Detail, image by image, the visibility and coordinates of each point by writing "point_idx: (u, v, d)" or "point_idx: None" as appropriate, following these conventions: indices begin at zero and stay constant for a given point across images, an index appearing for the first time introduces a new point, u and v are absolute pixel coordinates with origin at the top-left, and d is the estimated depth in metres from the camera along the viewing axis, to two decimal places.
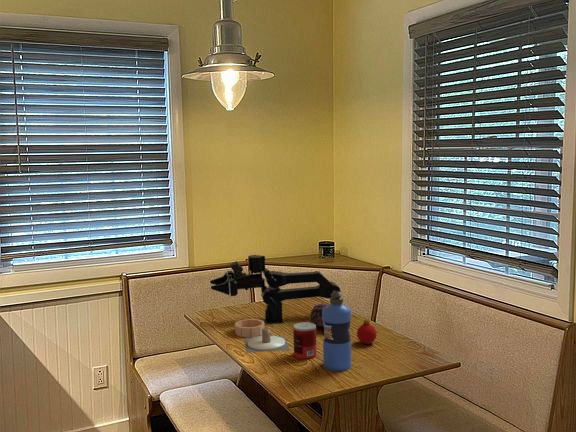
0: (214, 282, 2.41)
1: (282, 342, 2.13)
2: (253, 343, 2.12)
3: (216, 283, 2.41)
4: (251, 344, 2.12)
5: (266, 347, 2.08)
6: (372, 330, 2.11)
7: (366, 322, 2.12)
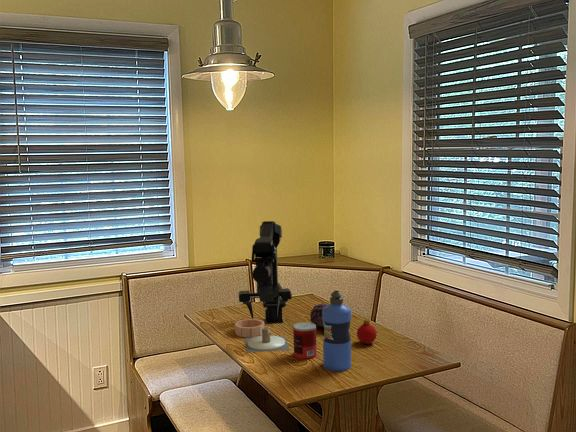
0: None
1: (282, 342, 2.13)
2: (253, 343, 2.12)
3: None
4: (251, 344, 2.11)
5: (266, 347, 2.08)
6: (372, 330, 2.11)
7: (366, 322, 2.12)
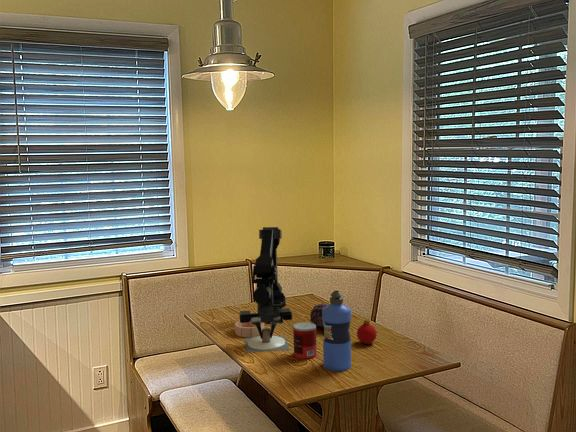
0: (261, 333, 2.14)
1: (282, 342, 2.13)
2: (253, 343, 2.12)
3: None
4: (251, 344, 2.11)
5: (266, 347, 2.08)
6: (372, 330, 2.11)
7: (366, 322, 2.12)
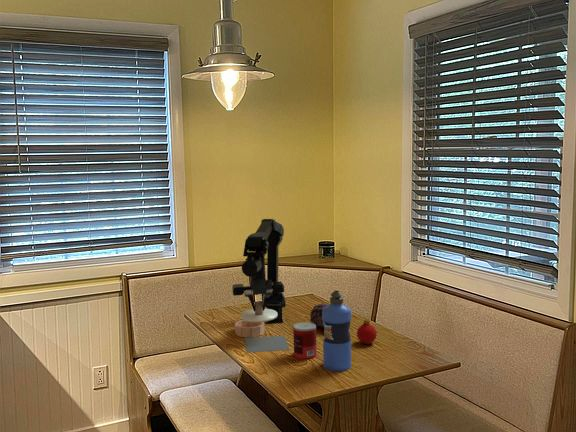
0: (254, 306, 2.18)
1: (274, 314, 2.18)
2: (246, 315, 2.17)
3: None
4: (244, 316, 2.16)
5: (259, 319, 2.13)
6: (372, 330, 2.11)
7: (366, 322, 2.12)
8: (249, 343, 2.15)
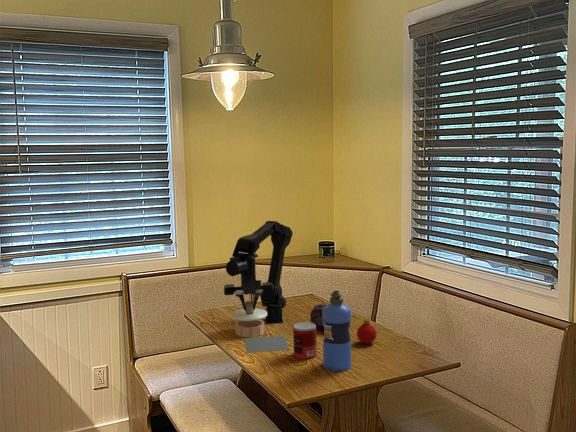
0: None
1: (264, 314, 2.25)
2: (237, 315, 2.25)
3: None
4: (235, 315, 2.24)
5: (249, 318, 2.21)
6: (372, 330, 2.11)
7: (366, 322, 2.12)
8: (249, 343, 2.15)
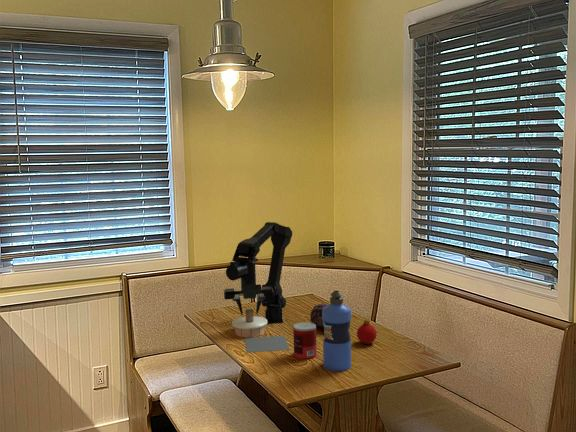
0: None
1: (264, 322, 2.26)
2: (237, 323, 2.25)
3: None
4: (235, 323, 2.24)
5: (249, 326, 2.21)
6: (372, 330, 2.11)
7: (366, 322, 2.12)
8: (249, 343, 2.15)
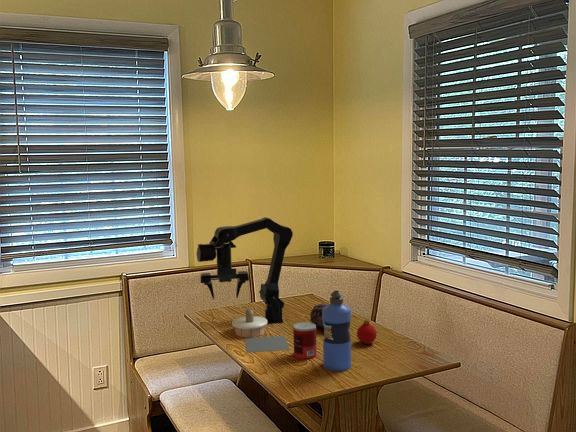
0: (213, 294, 2.33)
1: (264, 322, 2.26)
2: (237, 323, 2.25)
3: (213, 292, 2.33)
4: (235, 323, 2.24)
5: (249, 326, 2.21)
6: (372, 330, 2.11)
7: (366, 322, 2.12)
8: (249, 343, 2.15)
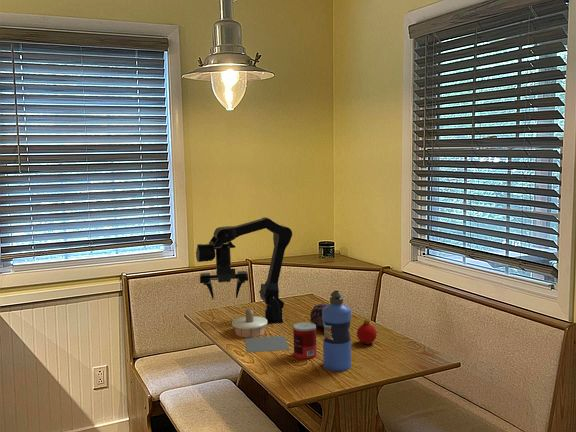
0: None
1: (264, 322, 2.26)
2: (237, 323, 2.25)
3: None
4: (235, 323, 2.24)
5: (249, 326, 2.21)
6: (372, 330, 2.11)
7: (366, 322, 2.12)
8: (249, 343, 2.15)
